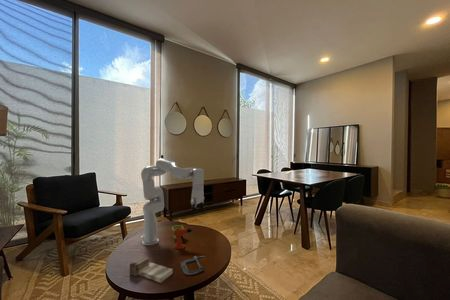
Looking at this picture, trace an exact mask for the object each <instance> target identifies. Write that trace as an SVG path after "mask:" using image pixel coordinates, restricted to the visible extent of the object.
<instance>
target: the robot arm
mask: <svg viewBox="0 0 450 300" xmlns="http://www.w3.org/2000/svg"><path fill="white" fill-rule="evenodd" d="M166 173H170V174H171V176H172V177H174V178H177V179H180V180H189V179H192V189H191V198H190V204H191V205H190V206H191V213H192V214H197V211H198V209H197V205H198V208H199V210H202V211H203V210H204V208H205V207H204V204H205V203H204V202H205V196H204V194H205V193H204V184H205V183H204V181H205V179H204V178H205V177H204V174H205V173H204V169H203V168H199V167H198V168H195V167H184V168H183V167H179V165H178V163H177V162H175V161H174V160H173V159H172V158H170V157H166V158H165V157H163V158H159V159H158V160H156V162H155V165H148V166H146V167H143V169H142V170H141V173H140V176H141V177H140V178H141V181H142V188H143V197H144V199H145V201H148V202H146V203H144V204H143V206H142V213H143V219H144V221H143V225H144V226H143V234H142V235H141V237H140V238H141V239H142V240H141V244H142V245H144V246H154V245H157V244H158V243H160V240H159V238H158V218H157V216H156V213H159V212H161V211H163V210H164V208H165V199H164V198H165V196H164V190H163V188H162V187H161V186H159V185H157V186H155V181H154V177H159V176H164V175H165V174H166Z"/></svg>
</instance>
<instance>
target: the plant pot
mask: <svg viewBox="0 0 450 300" xmlns="http://www.w3.org/2000/svg"><path fill="white" fill-rule="evenodd" d="M177 228H179V229H183V228H185V227H184V226H183V225H174V226H172V227H171V230H172V234H173V239H175V240H177V239H176V236H175V235H174V231H175V230H176V229H177Z"/></svg>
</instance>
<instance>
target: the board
mask: <svg viewBox="0 0 450 300" xmlns="http://www.w3.org/2000/svg"><path fill="white" fill-rule="evenodd" d="M173 271H174V270H173V268H169V267H167V266H164V265H161V264H157V263H154V262H151V261H149V265H147V266H145V267H144V268H142V269H141V270H139V271H138V275H137V276H141V277H143V278H147V279H148V280H149V279H150V280H152V281H155V282H157V283H163V282H164V281H165V280H166V279H168V278H169V277H170V276H171V275H172V274H173Z"/></svg>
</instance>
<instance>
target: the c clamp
mask: <svg viewBox="0 0 450 300" xmlns="http://www.w3.org/2000/svg"><path fill="white" fill-rule="evenodd" d="M200 258H206V255H202V256H196V255H195V256H193V258H189V259H185V260H182V261H181V262H180V267H181V270H182V272H183V274H184V275H186V276H194V275H197V274H200V273H201V272H203V271H205V268H204V267H203V266H202V265H201V264H200V262H199V259H200ZM194 262H196V265H197V266H198V269H197V270H189V269H188V265H187V264H190V263H194Z"/></svg>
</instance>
